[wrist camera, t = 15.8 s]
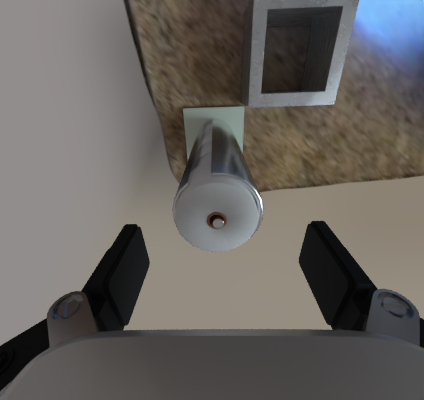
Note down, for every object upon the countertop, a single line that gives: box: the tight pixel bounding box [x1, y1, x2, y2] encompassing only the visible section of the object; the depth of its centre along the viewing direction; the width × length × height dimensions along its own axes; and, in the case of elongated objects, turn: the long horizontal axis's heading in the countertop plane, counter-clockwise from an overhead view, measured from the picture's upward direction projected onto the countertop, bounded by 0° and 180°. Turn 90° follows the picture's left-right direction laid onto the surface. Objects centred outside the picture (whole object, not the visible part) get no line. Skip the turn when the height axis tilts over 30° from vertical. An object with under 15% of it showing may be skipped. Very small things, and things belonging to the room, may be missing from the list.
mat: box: [183, 106, 244, 159], centre depth 36 cm, size 10×10×1 cm
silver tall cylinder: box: [172, 119, 264, 252], centre depth 24 cm, size 6×6×25 cm
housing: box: [241, 0, 359, 107], centre depth 27 cm, size 11×11×8 cm
